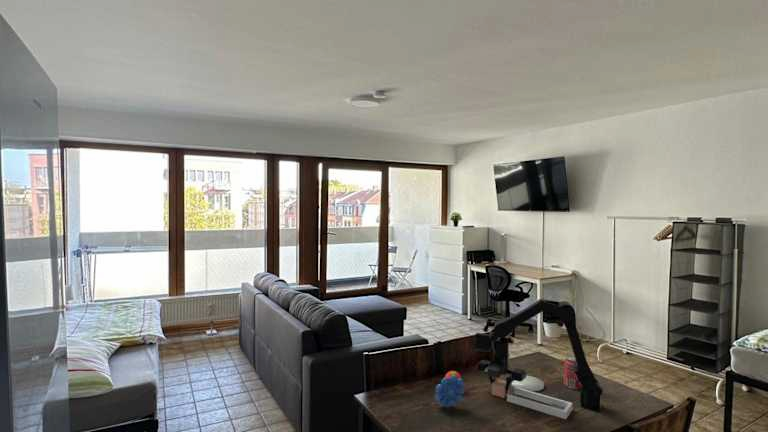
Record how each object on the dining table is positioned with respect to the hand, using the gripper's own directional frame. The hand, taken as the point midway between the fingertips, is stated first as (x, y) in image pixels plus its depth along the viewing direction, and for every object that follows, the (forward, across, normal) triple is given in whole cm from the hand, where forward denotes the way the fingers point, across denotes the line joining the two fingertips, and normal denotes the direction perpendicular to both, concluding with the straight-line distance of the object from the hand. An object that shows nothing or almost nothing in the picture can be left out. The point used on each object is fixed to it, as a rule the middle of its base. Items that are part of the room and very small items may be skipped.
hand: (500, 391), depth 167 cm
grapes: (+1, -11, -22) cm, 25 cm away
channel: (+1, +15, 0) cm, 15 cm away
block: (+1, 0, 0) cm, 1 cm away
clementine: (+1, -17, -8) cm, 19 cm away
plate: (+1, +5, +16) cm, 17 cm away
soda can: (+1, +21, +26) cm, 33 cm away
